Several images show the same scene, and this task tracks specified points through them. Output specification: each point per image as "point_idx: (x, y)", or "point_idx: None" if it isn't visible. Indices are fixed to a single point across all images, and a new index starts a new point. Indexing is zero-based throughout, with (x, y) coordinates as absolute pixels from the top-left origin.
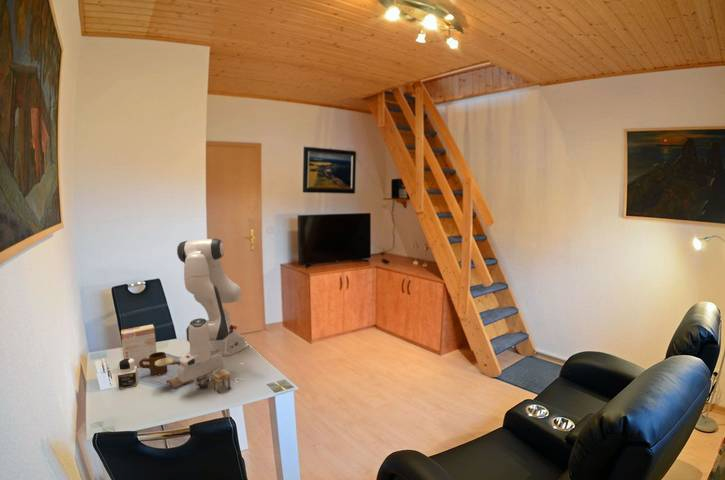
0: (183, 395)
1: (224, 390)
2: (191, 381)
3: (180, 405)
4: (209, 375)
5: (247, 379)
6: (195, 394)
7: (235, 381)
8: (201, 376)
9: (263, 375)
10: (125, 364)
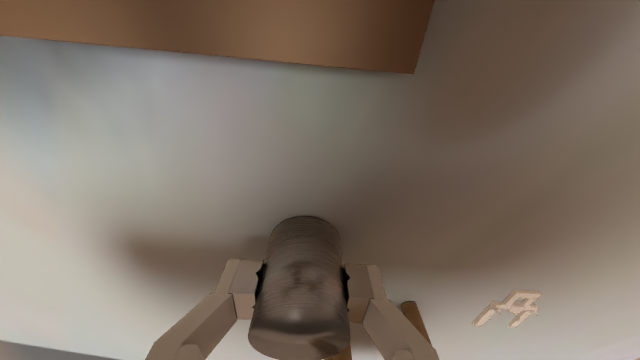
0: (127, 232)
1: (363, 336)
2: (274, 59)
3: (93, 309)
4: (387, 350)
5: (526, 333)
6: (214, 276)
7: (481, 315)
8: (316, 312)
9: (592, 349)
10: None
